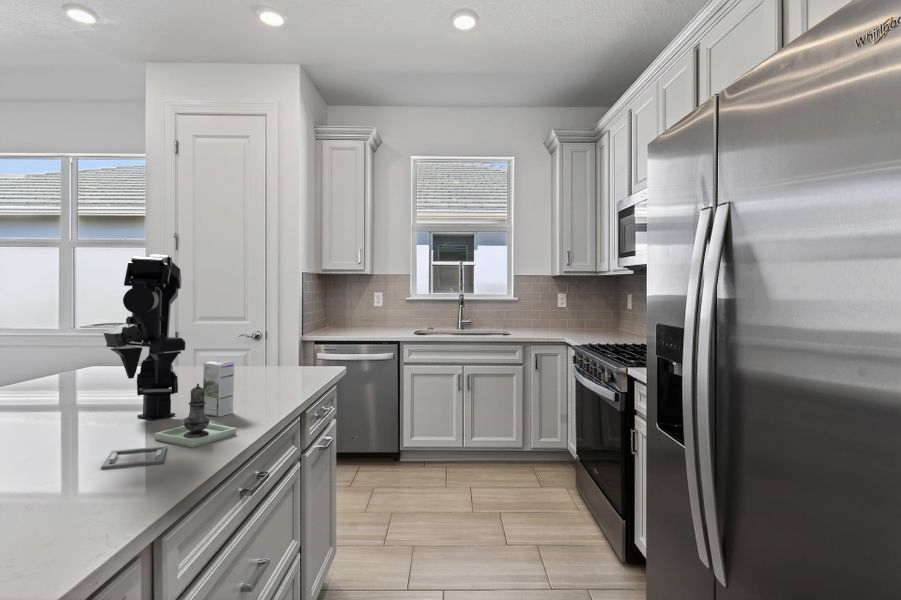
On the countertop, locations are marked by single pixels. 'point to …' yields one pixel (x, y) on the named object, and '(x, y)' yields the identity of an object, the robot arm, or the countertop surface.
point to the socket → (114, 454)
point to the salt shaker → (196, 415)
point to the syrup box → (218, 388)
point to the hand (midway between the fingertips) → (144, 380)
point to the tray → (178, 438)
